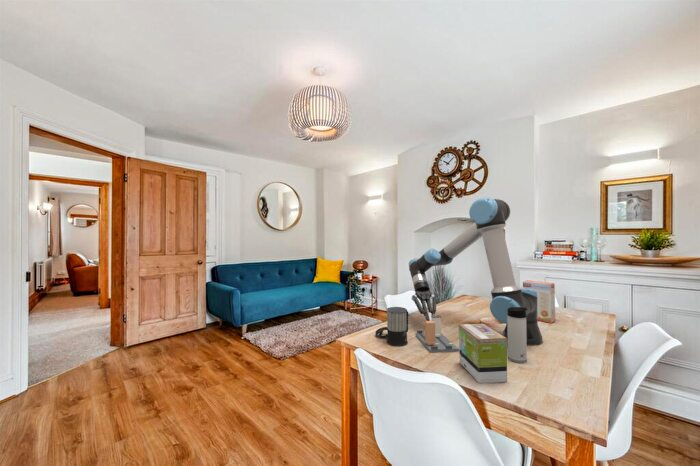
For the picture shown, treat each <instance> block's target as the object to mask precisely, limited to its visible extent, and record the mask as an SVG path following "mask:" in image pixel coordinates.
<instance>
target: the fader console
mask: <svg viewBox="0 0 700 466" xmlns="http://www.w3.org/2000/svg"><path fill="white" fill-rule="evenodd" d="M415 335H416V336H415V337H416V338H417V339H418V341H419V342H420V341H421V342H420V343H421V344H422V345H423V346H424V348H425V349H426V350H427V351H428V352H429V353H430V354H431V353H433V354H436V353H437V354H438V353H459V347H458V346H457V345H455V344H454V343H453V342H452V341H451V340H450V339H449V338H447V336H445V335H444V334H443V333H442V332H441V335H440V337H435V322H434V321H424V332H423V330H422V329H421V330H420V329H418V330H416V332H415Z"/></svg>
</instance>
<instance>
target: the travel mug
mask: <svg viewBox="0 0 700 466" xmlns="http://www.w3.org/2000/svg"><path fill="white" fill-rule="evenodd" d="M526 311H527V308H522V307H511V308H508V315H507V316H508V317H507V331H508V340H507V360H508V361H510V362H513V363H516V364H526V363H527V362H528V358H527V356H528V355H527V353H528V351H527V350H528V349H527V348H528V347H527V346H528V345H527V337H526Z"/></svg>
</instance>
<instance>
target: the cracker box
mask: <svg viewBox="0 0 700 466" xmlns="http://www.w3.org/2000/svg"><path fill="white" fill-rule="evenodd" d="M555 284H556V283H554V282H546V281H545V282H544V281H536V280H523V281H522V288H524V289H532V290H535V291H536V292H537V297H538V299H537V321H539V322H543V323H548V324H553V323H554V322H556V289H555V288H556V287H555Z"/></svg>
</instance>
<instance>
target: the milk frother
mask: <svg viewBox="0 0 700 466" xmlns="http://www.w3.org/2000/svg"><path fill="white" fill-rule="evenodd" d="M386 315H387V316H386V318H387V319H386V320H387V321H386V324H387V325H386V326H383V327H380V328H377V329H376V331H375V336H376V337H378V338H380V339H386V343H387V344H388V345H390V346H394V347H405V346H406V345H407V344H408V332H409V315H410V314H409V311H408V309H407V308H405V307H402V306H390V307H388V308H386ZM384 331H386V332H387V333H386V334H383V333H384Z"/></svg>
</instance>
